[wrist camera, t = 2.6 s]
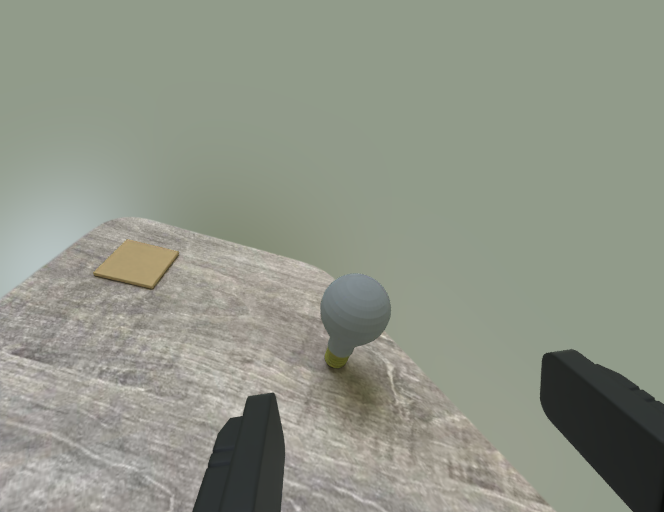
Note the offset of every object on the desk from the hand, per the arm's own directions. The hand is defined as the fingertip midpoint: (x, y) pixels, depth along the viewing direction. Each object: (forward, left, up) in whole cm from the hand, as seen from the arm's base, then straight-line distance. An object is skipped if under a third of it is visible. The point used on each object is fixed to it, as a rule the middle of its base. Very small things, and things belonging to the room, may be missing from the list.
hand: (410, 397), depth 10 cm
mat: (+6, +28, -18) cm, 33 cm away
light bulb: (+11, +6, -18) cm, 22 cm away
